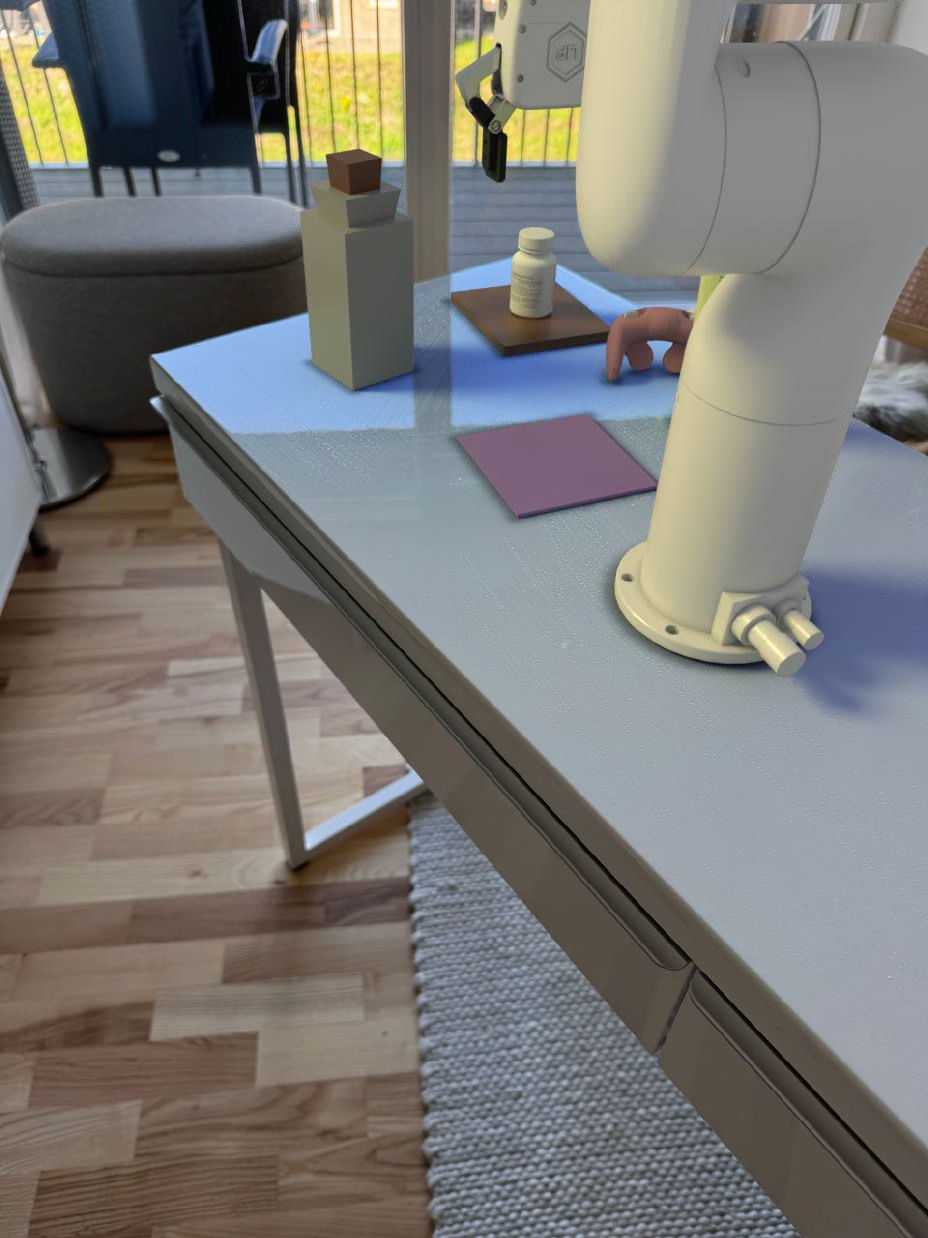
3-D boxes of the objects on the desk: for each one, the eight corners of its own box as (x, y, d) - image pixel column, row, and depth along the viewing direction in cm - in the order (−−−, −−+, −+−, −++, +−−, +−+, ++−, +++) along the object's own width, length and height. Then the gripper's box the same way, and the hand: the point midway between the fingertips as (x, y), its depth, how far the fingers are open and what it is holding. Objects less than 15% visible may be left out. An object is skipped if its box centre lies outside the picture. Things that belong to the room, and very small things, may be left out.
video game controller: (705, 389, 87) (715, 312, 85) (714, 389, 83) (725, 307, 81) (600, 381, 87) (609, 304, 86) (604, 381, 83) (613, 300, 81)
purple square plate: (658, 488, 71) (659, 484, 71) (517, 517, 67) (517, 514, 67) (586, 416, 79) (586, 413, 79) (457, 439, 76) (457, 436, 75)
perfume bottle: (353, 390, 81) (341, 172, 70) (312, 362, 85) (294, 152, 73) (414, 370, 85) (412, 159, 73) (372, 344, 89) (364, 140, 77)
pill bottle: (531, 298, 96) (537, 221, 91) (561, 312, 93) (569, 234, 88) (500, 308, 94) (504, 230, 89) (529, 323, 91) (536, 243, 86)
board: (614, 339, 91) (615, 330, 91) (504, 356, 88) (504, 346, 87) (552, 288, 101) (552, 279, 100) (450, 301, 97) (450, 291, 97)
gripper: (479, -51, 68) (471, 193, 79) (677, -51, 74) (644, 178, 85) (443, -59, 74) (440, 170, 85) (630, -59, 79) (605, 158, 90)
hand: (542, 174), depth 85 cm, fingers open, 9 cm apart
